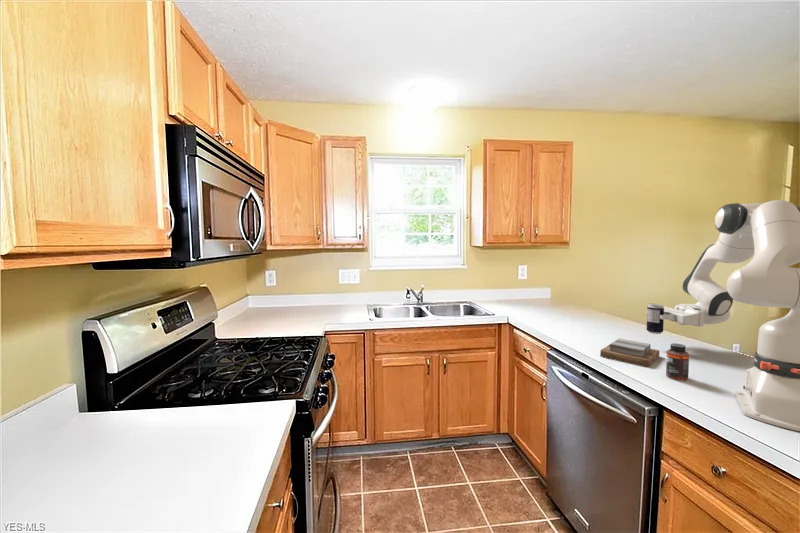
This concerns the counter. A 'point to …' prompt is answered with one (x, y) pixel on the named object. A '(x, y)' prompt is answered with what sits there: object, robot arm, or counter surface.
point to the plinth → (631, 357)
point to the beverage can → (655, 318)
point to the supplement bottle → (677, 362)
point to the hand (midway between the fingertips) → (653, 315)
